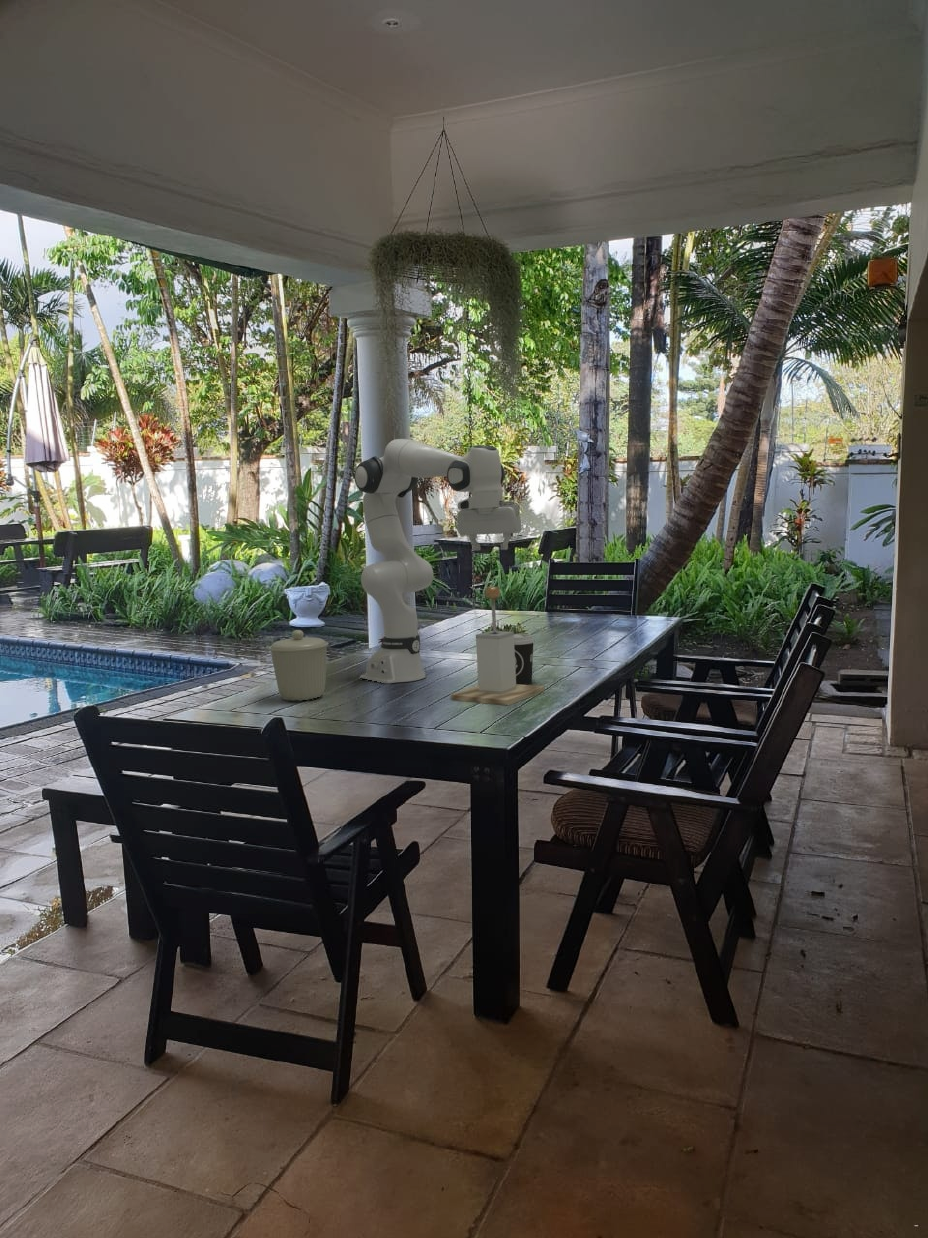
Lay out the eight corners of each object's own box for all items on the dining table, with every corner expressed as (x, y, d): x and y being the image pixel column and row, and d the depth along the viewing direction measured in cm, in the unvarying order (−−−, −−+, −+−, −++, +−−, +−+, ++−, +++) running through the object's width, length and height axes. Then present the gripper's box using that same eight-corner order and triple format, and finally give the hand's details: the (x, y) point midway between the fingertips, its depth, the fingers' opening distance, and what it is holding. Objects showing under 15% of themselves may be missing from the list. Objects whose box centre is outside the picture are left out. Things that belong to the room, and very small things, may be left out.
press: (478, 692, 287) (475, 634, 285) (498, 685, 296) (495, 629, 293) (501, 694, 282) (498, 636, 280) (520, 687, 291) (518, 630, 289)
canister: (326, 689, 311) (321, 623, 308) (337, 700, 294) (332, 630, 291) (269, 696, 305) (263, 629, 303) (276, 707, 288) (271, 636, 285)
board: (450, 699, 286) (450, 694, 286) (488, 686, 302) (488, 681, 302) (508, 705, 274) (507, 700, 274) (544, 691, 290) (544, 686, 290)
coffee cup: (534, 686, 299) (532, 637, 297) (503, 686, 301) (501, 638, 299) (538, 680, 308) (536, 632, 306) (508, 680, 310) (506, 633, 308)
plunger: (482, 658, 286) (478, 588, 283) (493, 654, 291) (489, 586, 288) (498, 659, 283) (495, 588, 280) (509, 655, 287) (506, 586, 285)
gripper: (524, 499, 278) (527, 548, 280) (465, 503, 290) (467, 550, 291) (512, 500, 273) (515, 550, 274) (452, 504, 284) (455, 551, 286)
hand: (490, 550), depth 283 cm, fingers open, 8 cm apart
